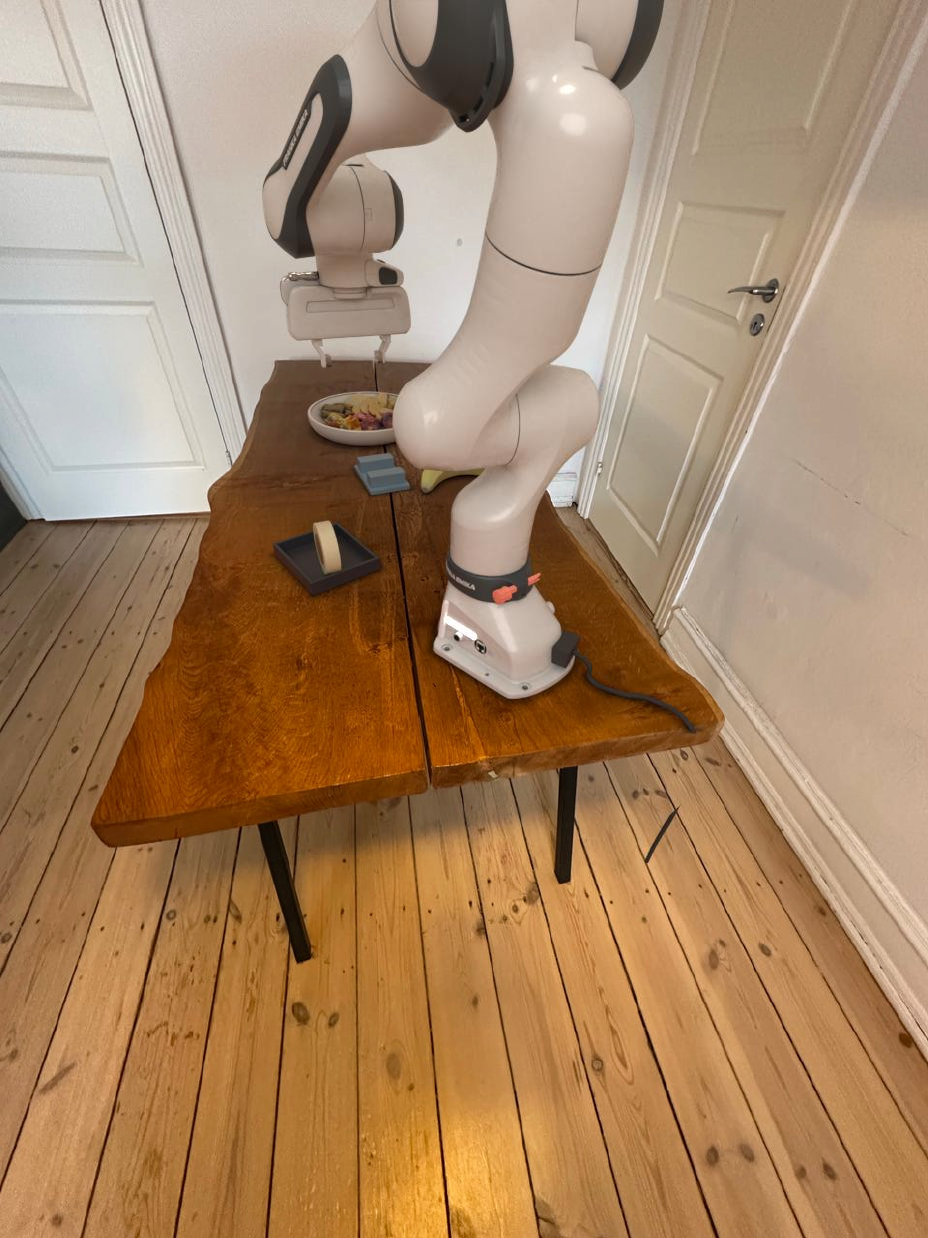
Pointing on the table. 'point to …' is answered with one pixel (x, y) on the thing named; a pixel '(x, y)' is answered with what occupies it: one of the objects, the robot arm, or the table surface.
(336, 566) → the tape
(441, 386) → the robot arm
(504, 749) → the table surface
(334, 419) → the bowl
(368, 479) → the holder
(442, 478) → the banana
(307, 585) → the tray
